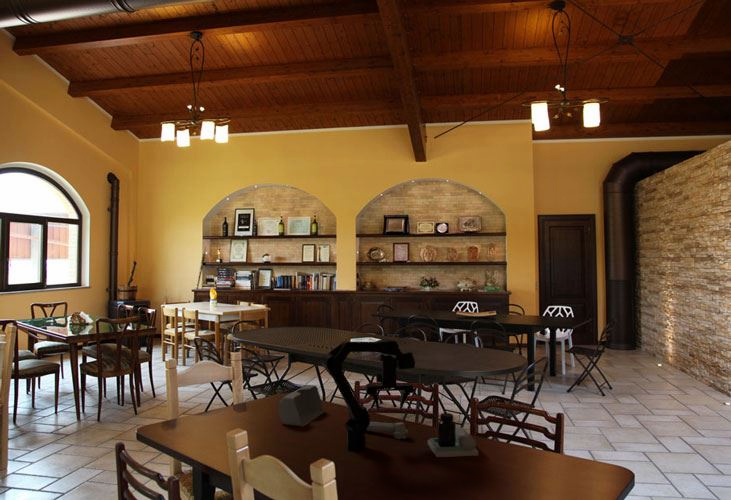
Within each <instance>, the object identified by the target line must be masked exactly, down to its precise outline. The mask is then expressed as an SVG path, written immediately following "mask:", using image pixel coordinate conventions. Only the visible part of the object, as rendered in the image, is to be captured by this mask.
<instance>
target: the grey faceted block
mask: <svg viewBox="0 0 731 500" xmlns="http://www.w3.org/2000/svg"><path fill="white" fill-rule="evenodd" d="M318 388H319V387H318V386H317V385H311V384H306V385H303V386H302V387H300V388H298V389H297V390H295V391H292V392H290V393H289V394H287V395H285V396H284V397H283V398H282V399H281V400H280V401H279V403H278V417H279V418H280V420H281V422H282V423H283V425H284V426H285V425H286V426H295V427H305V426H306V425H307V424H309V423H311V422H312V421H314V420H315V419H316V418H318V417H319V416H321V415H322V414H323V413H324V412H325V408H324V405H323V401H322V398H321V396H320V392H319V389H318ZM320 414H321V415H320Z"/></svg>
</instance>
